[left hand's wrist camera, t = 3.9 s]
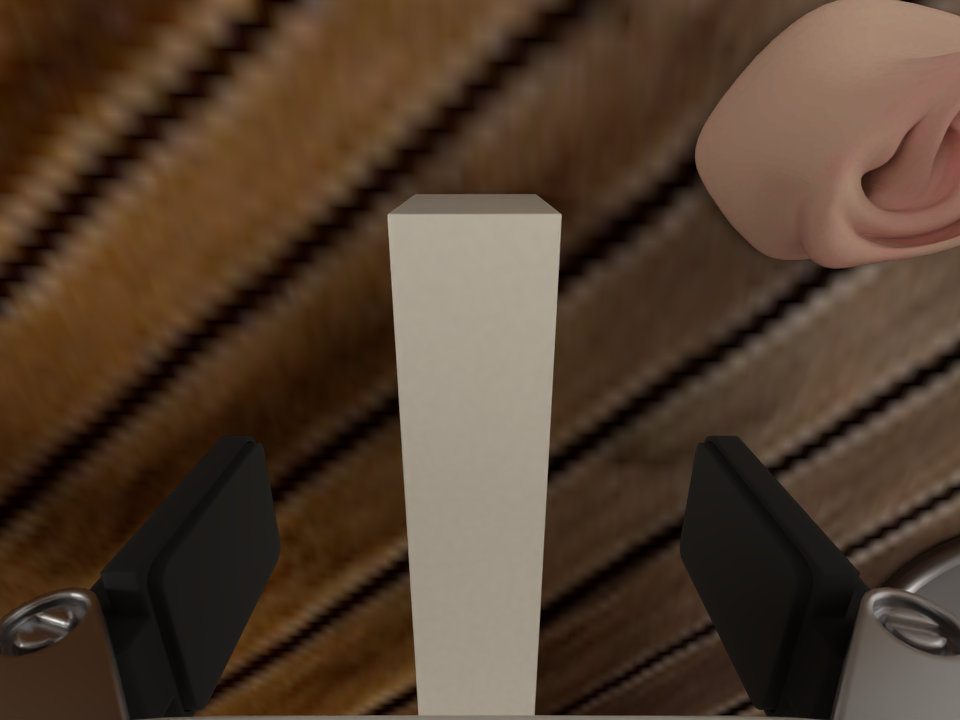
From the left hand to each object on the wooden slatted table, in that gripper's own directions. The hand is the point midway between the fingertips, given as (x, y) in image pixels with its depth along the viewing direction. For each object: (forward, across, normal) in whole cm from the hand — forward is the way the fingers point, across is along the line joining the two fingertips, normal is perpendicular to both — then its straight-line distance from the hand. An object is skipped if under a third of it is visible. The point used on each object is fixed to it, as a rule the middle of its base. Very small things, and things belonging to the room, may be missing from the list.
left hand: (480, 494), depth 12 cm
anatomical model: (+16, +17, +7) cm, 24 cm away
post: (+16, 0, -33) cm, 37 cm away
